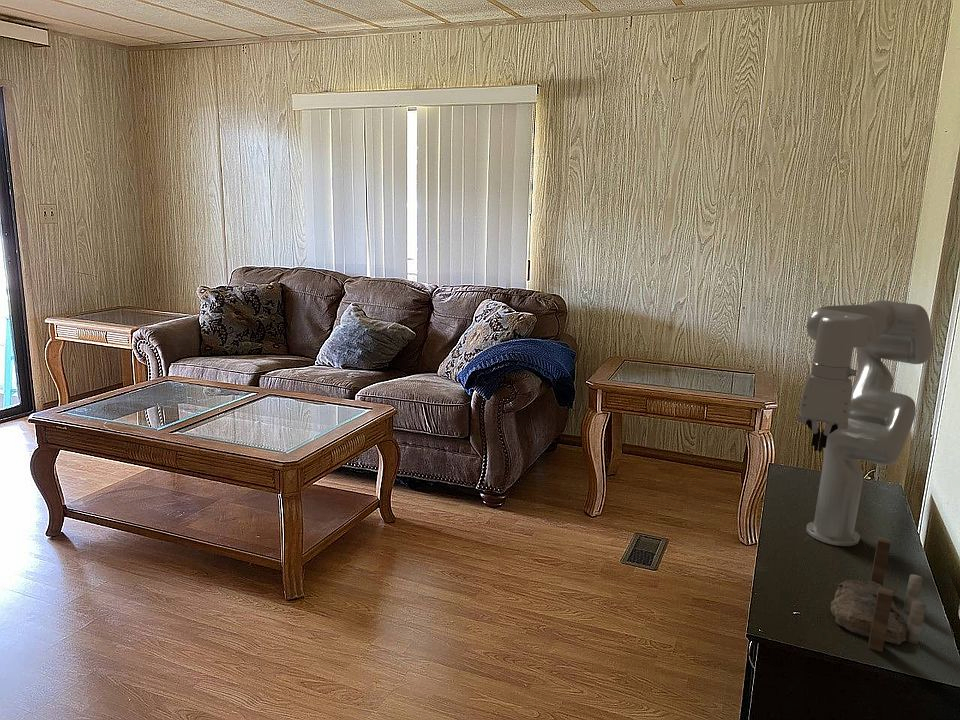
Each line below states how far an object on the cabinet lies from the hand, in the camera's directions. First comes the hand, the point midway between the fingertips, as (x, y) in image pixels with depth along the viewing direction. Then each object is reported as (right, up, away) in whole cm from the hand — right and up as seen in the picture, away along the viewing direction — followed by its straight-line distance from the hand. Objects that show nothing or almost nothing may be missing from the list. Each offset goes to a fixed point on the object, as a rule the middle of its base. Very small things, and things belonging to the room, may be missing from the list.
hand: (818, 449), depth 170 cm
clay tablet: (+5, -34, -12) cm, 36 cm away
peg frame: (+9, -34, -15) cm, 38 cm away
